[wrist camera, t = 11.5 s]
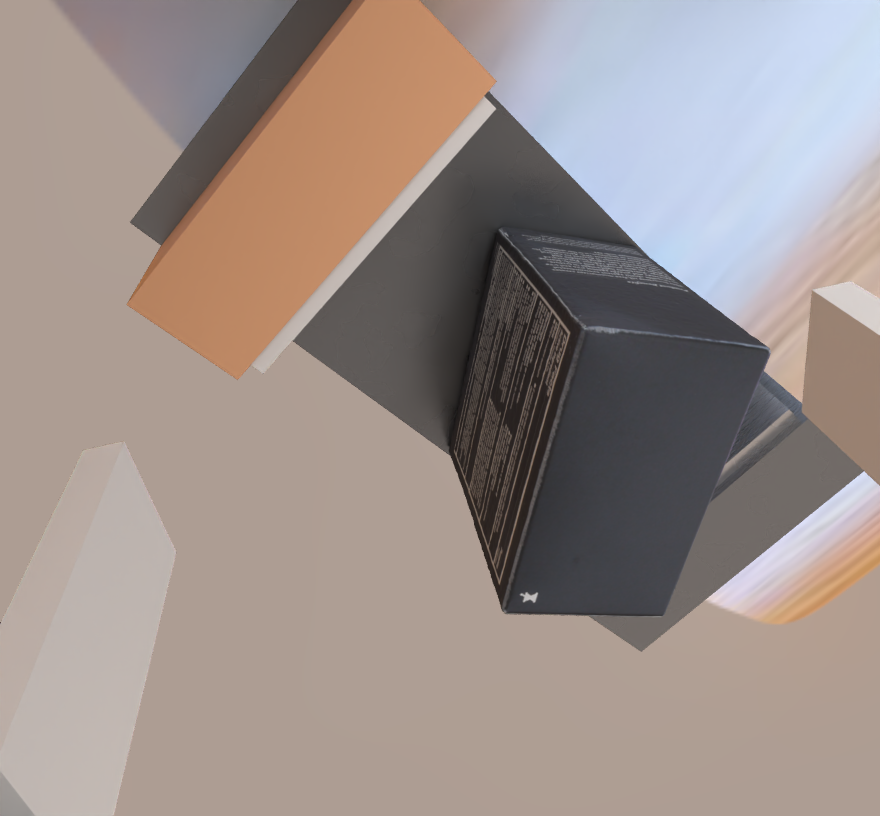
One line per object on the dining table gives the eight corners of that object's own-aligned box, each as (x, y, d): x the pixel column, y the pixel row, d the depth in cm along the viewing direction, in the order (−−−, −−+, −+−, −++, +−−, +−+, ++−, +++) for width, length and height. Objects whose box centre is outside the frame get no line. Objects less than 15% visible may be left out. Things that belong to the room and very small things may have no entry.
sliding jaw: (160, 246, 28) (126, 304, 23) (373, -28, 25) (389, -31, 20) (263, 320, 30) (253, 390, 25) (473, 75, 27) (511, 96, 22)
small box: (580, 465, 36) (671, 628, 27) (444, 454, 35) (491, 621, 25) (649, 245, 31) (788, 352, 22) (494, 222, 30) (574, 326, 21)
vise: (138, 212, 29) (87, 276, 23) (341, -57, 26) (350, -72, 20) (606, 557, 41) (661, 665, 34) (786, 401, 38) (884, 488, 31)
